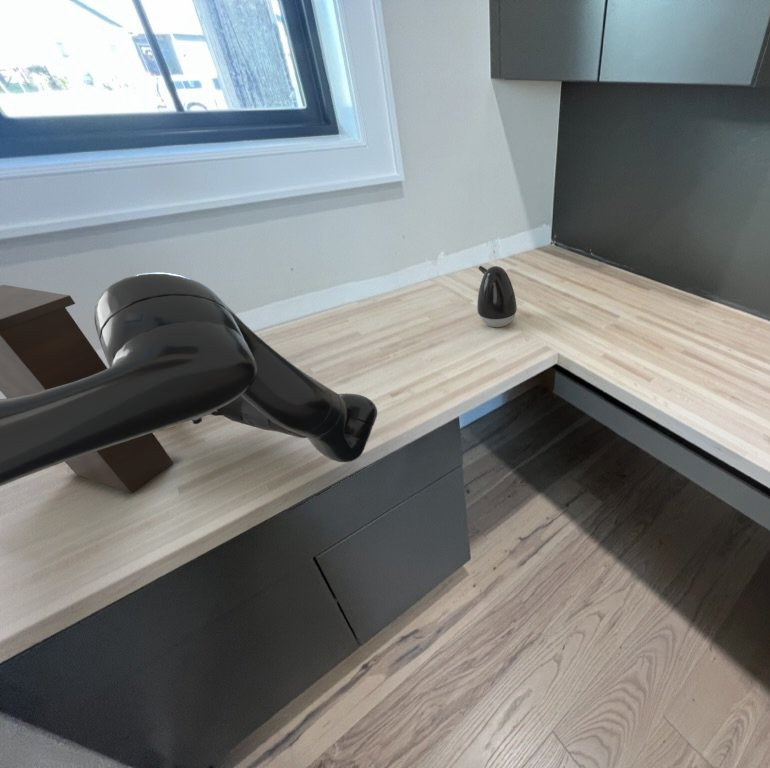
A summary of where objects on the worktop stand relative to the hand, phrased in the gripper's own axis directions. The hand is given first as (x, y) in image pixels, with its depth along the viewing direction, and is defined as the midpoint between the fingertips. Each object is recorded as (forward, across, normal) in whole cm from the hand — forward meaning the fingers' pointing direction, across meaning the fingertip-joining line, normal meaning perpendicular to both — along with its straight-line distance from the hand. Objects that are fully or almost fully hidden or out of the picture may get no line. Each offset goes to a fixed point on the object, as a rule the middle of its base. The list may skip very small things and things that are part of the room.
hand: (185, 384), depth 73 cm
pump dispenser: (-38, -55, +8) cm, 67 cm away
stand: (+3, +13, +10) cm, 16 cm away
